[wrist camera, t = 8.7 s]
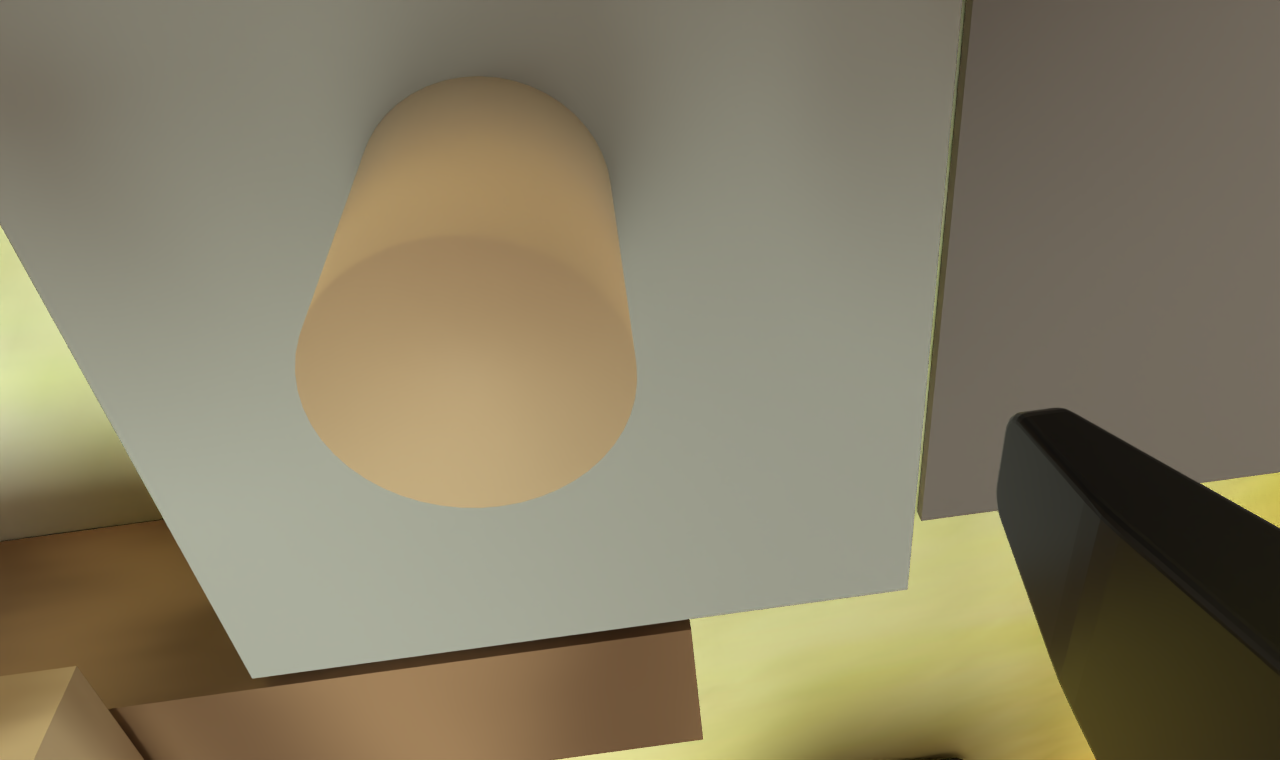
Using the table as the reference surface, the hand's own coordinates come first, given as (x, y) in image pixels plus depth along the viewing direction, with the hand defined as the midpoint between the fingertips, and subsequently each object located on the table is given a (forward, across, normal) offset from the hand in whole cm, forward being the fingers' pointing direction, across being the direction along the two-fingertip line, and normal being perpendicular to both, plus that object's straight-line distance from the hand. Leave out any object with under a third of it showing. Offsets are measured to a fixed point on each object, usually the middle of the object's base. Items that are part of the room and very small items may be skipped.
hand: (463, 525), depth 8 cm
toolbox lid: (+7, 0, 0) cm, 7 cm away
